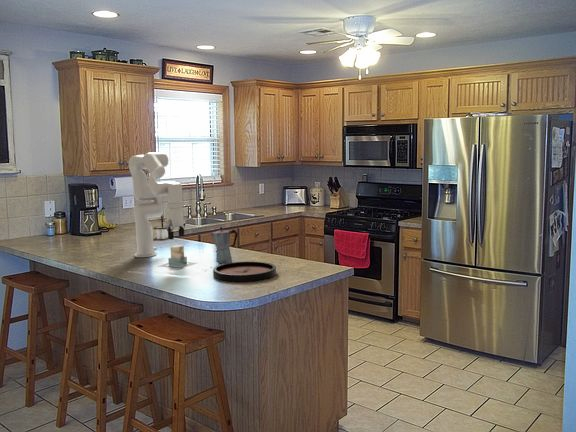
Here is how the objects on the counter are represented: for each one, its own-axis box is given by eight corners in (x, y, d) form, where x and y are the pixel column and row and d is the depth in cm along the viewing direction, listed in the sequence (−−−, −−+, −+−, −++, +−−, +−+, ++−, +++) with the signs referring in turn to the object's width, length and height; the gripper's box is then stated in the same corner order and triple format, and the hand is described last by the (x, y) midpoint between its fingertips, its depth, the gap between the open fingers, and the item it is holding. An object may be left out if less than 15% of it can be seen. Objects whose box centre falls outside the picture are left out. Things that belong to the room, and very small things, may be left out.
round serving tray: (241, 278, 257) (200, 268, 279) (242, 286, 258) (200, 276, 279) (288, 266, 280) (246, 258, 301) (289, 274, 280) (247, 266, 302)
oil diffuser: (174, 241, 385) (173, 217, 383) (140, 242, 386) (139, 217, 384) (183, 235, 411) (182, 212, 409) (151, 236, 412) (150, 213, 410)
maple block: (176, 256, 305) (175, 245, 304) (184, 256, 303) (183, 245, 303) (171, 257, 301) (170, 246, 300) (178, 258, 299) (178, 247, 298)
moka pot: (209, 262, 312) (207, 226, 310) (235, 259, 318) (234, 224, 315) (213, 265, 304) (211, 229, 301) (240, 262, 309) (239, 227, 306)
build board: (173, 262, 313) (173, 260, 312) (198, 264, 306) (198, 262, 306) (157, 268, 299) (157, 266, 299) (182, 270, 292) (182, 268, 292)
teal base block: (176, 262, 307) (175, 255, 306) (187, 263, 304) (186, 256, 304) (168, 265, 301) (168, 258, 300) (179, 266, 298) (179, 259, 297)
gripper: (178, 203, 308) (179, 234, 310) (159, 207, 292) (160, 239, 295) (190, 204, 305) (191, 235, 307) (171, 208, 289) (172, 240, 292)
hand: (176, 237), depth 301 cm, fingers open, 9 cm apart
